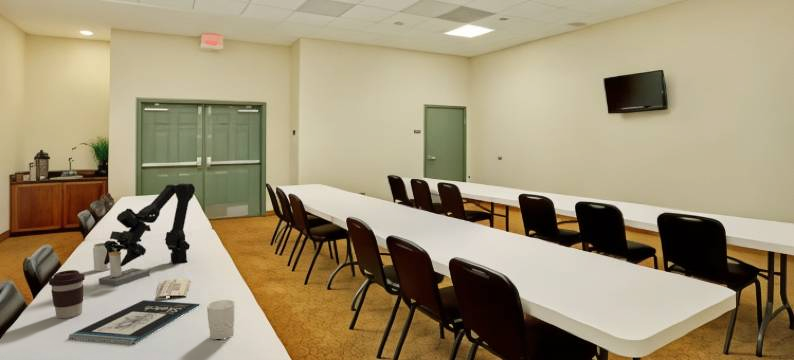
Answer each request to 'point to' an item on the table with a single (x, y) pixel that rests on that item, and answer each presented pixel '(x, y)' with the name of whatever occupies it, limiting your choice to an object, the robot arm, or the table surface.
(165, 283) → the open book
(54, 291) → the coffee cup
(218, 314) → the white cup
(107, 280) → the console
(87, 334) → the sketchbook
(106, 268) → the can
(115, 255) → the fader knob
